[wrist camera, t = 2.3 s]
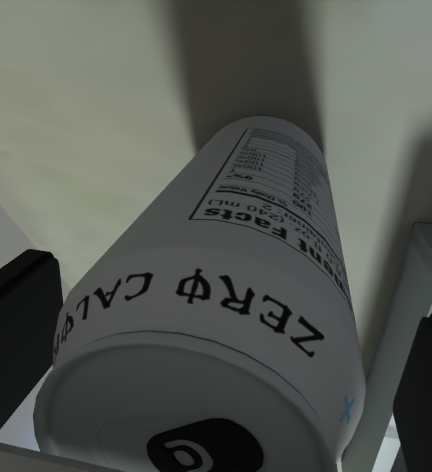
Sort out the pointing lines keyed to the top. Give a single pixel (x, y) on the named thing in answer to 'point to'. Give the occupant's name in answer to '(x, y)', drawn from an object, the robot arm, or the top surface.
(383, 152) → the top surface
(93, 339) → the energy drink can
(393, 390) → the can crate
